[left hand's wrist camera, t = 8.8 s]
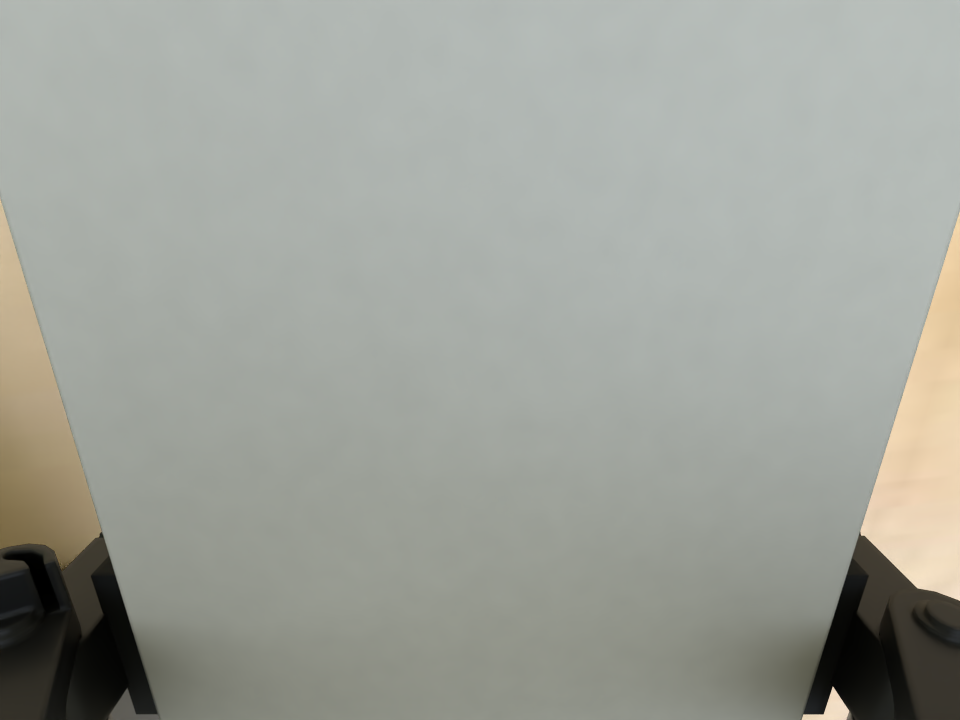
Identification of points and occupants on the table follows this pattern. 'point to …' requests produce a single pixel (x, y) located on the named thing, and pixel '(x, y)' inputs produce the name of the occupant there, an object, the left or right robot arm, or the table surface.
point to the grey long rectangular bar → (480, 334)
